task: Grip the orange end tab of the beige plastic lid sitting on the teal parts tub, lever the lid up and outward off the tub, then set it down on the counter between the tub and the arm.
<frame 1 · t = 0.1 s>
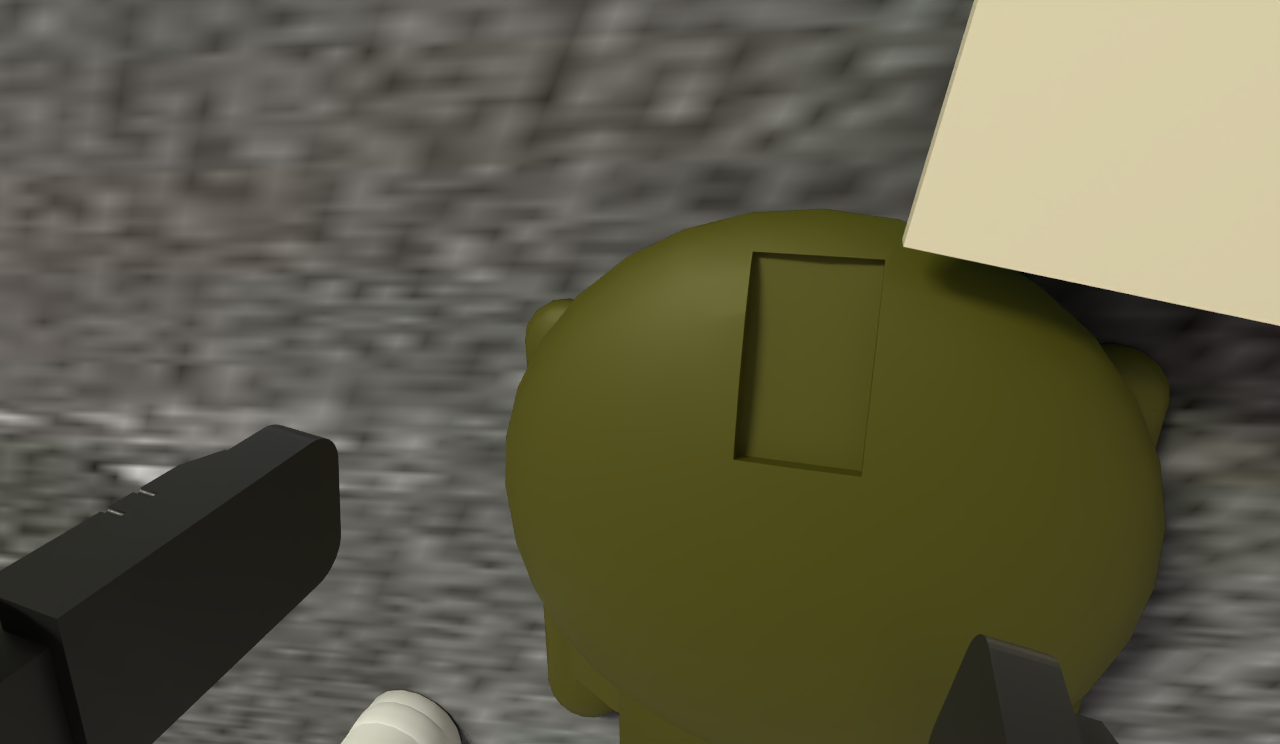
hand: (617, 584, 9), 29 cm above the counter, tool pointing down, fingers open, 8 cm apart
spaceship: (801, 508, 42), on the counter
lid: (1238, 105, 23), point 8 cm above the counter, touching tub
bottle: (418, 726, 58), on the counter
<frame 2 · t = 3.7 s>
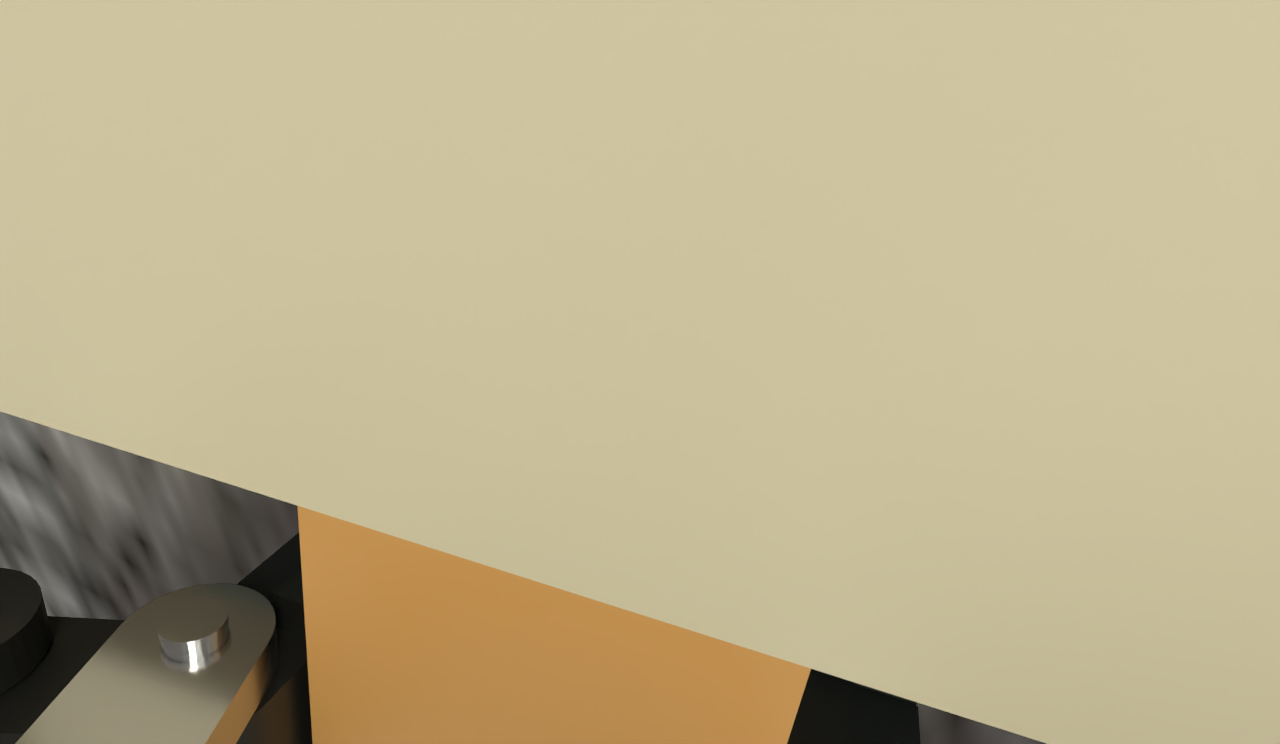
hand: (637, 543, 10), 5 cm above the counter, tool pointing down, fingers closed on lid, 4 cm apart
when the fingers open (3 cm above the counter, at t = 12.1 s): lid drops 5 cm, point 1 cm above the counter.
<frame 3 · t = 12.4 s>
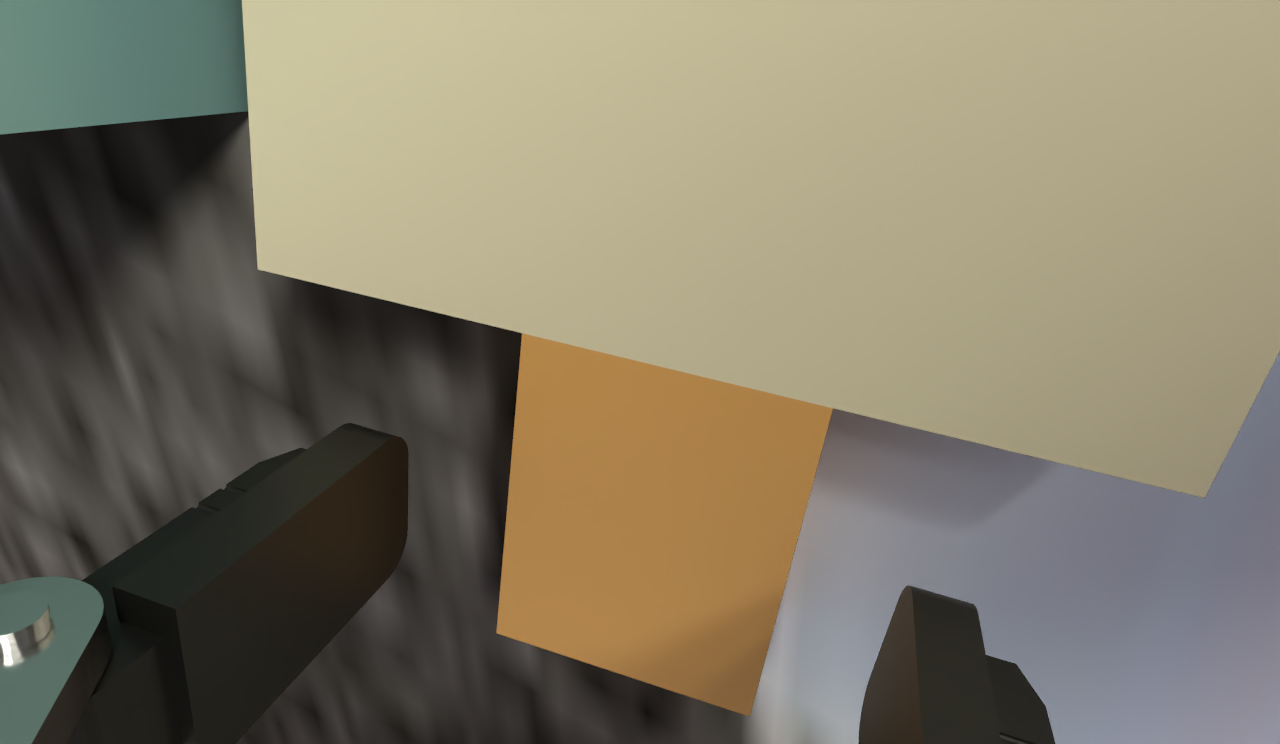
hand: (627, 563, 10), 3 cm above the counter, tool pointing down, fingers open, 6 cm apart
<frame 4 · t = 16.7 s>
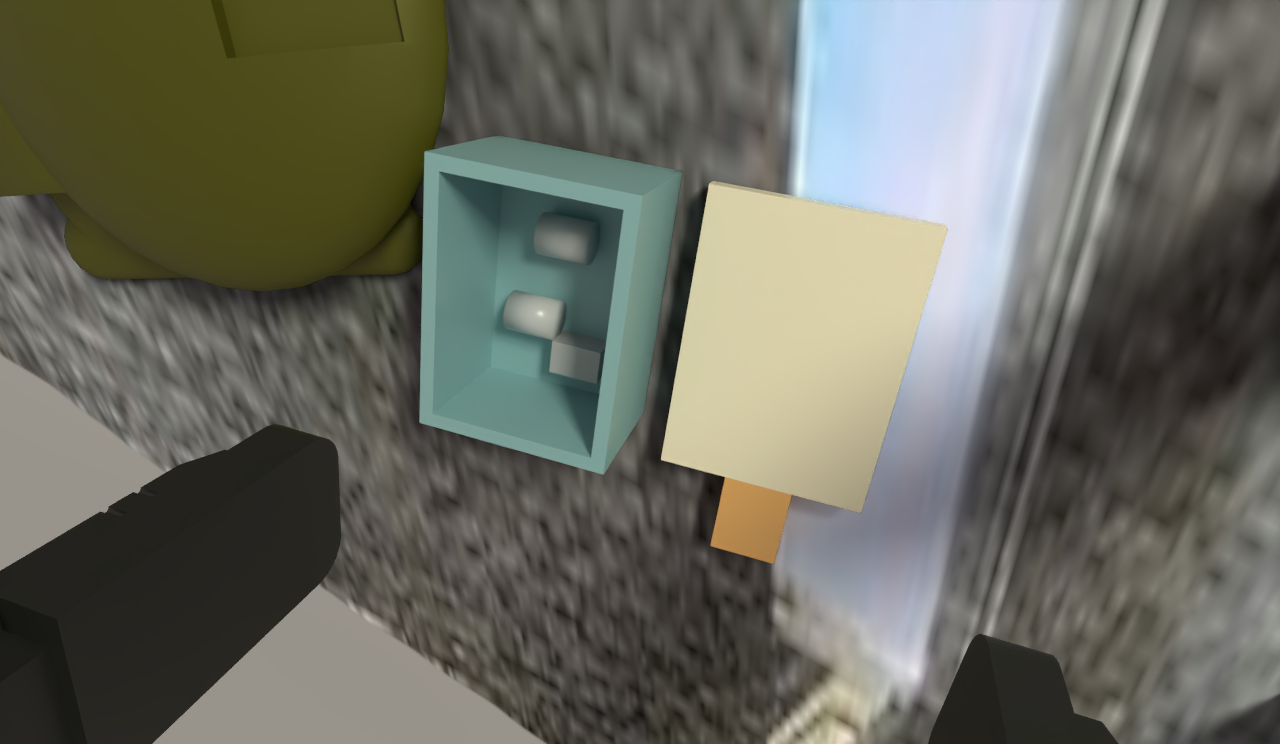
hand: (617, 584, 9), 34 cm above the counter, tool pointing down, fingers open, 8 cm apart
spaceship: (230, 24, 46), on the counter
tub: (574, 279, 45), on the counter
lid: (790, 349, 42), point 1 cm above the counter
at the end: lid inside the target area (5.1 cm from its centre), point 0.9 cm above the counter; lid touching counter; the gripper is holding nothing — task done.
